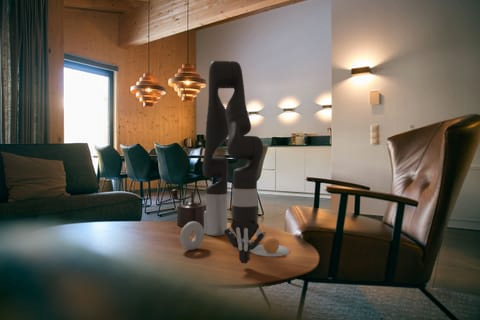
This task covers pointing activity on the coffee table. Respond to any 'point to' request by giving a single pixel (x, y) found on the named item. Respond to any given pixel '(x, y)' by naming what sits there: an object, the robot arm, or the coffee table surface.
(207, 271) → the coffee table surface
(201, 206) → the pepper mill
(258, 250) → the disc
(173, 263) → the coffee table surface
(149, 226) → the coffee table surface
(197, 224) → the donut
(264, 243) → the ball
